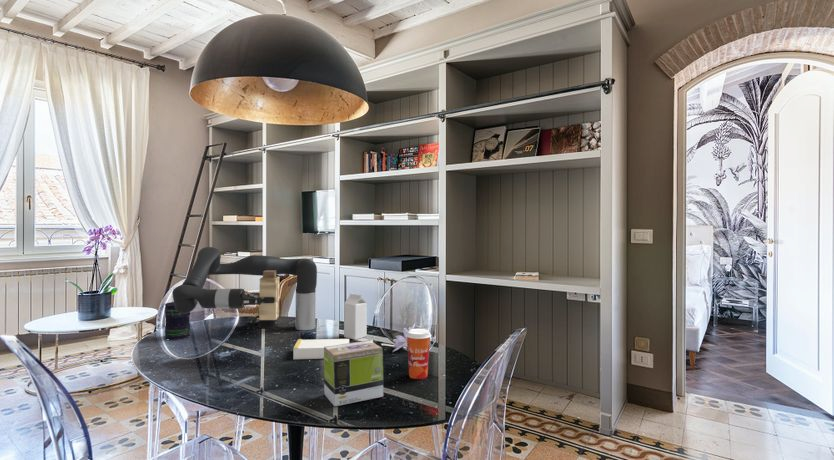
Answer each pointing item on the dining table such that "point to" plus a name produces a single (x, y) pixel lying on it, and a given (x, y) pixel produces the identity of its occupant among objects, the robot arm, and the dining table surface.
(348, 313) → the milk carton
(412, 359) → the coffee cup
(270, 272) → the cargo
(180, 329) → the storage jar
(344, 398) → the tea box
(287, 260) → the robot arm
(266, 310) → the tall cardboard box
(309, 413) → the dining table surface
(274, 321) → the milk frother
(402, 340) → the water lily
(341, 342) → the white flat box
